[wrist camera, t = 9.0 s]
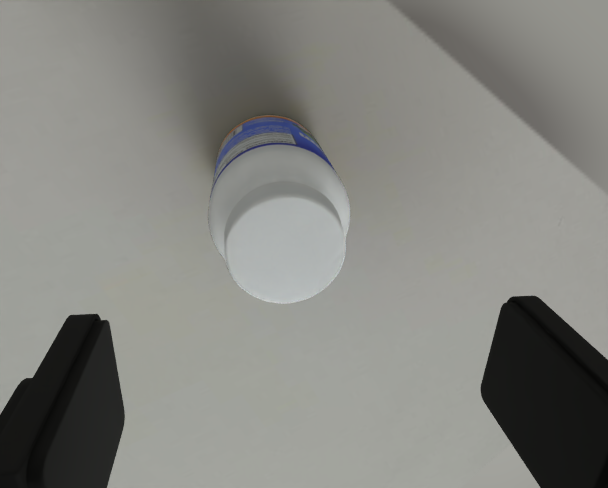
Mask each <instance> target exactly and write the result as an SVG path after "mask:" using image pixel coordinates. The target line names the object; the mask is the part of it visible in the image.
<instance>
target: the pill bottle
mask: <svg viewBox="0 0 608 488" xmlns="http://www.w3.org/2000/svg"><path fill="white" fill-rule="evenodd" d="M208 222H209V228H210V233H211V236H212V239H213V241H214V244H215V246H216V248H217V249H218V251H219V252H220V254H221V255H222V256H223V258H224V259H225V260H226V264H227V267H228V270H229V272H230V274H231V276H232V278H233V279H234V280H235V282H236V283H237V284H238V285H239V286H240V287H241V288H242V289H243V290H244V291H246V292H247V293H249V294H250V295H252V296H254V297H256V298H258V299H261V300H264V301H267V302H272V303H293V302H298V301H302V300H305V299H308V298H310V297H312V296H314V295H316V294H318V293H319V292H321V291H322V290H323V289H325V288H326V287H327V286H328V285H329V284H330V283H331V282H332V281H333V280H334V279H335V277H336V276H337V274H338V273H339V271H340V269H341V267H342V265H343V262H344V258H345V254H346V235H347V232H348V228H349V223H350V204H349V199H348V195H347V192H346V190H345V187H344V185H343V183H342V181H341V179H340V178H339V176H338V174H337V173H336V171H335V170H334V168H333V167H332V165H331V163H330V162H329V160H328V159H327V157H326V155H325V154H324V152H323V150H322V149H321V147H320V146H319V144H318V143H317V141H316V139H315V138H314V137H313V136H312V134H311V133H310V132H309V131H308V130H307V129H306V128H304V127H303V126H302V125H301V124H299V123H297V122H296V121H294V120H292V119H289V118H286V117H283V116H277V115H263V116H256V117H253V118H250V119H247V120H245V121H243V122H242V123H240V124H238V125H237V126H236V127H235V128H233V129H232V130H231V131H230V132H229V133H228V135H227V136H226V137H225V139H224V141H223V142H222V144H221V146H220V149H219V152H218V156H217V161H216V168H215V174H214V180H213V185H212V191H211V196H210V203H209V210H208Z"/></svg>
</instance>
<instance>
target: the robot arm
mask: <svg viewBox="0 0 608 488" xmlns="http://www.w3.org/2000/svg"><path fill="white" fill-rule="evenodd" d="M481 395H482V398H483V401H484V402H485V404H486V405H487V407H488V408H489V410H490V412H491V413H492V415H493V416H494V418H495V419H496V421H497V422H498V424H499V425H500V427H501V428H502V430H503V431H504V433H505V434H506V436H507V437H508V439H509V440H510V442H511V443H512V445H513V446H514V448H515V449H516V451H517V452H518V454H519V456H520V457H521V459H522V460H523V461H524V463H525V464H526V466H527V468H528V469H529V471H530V472H531V474H532V475H533V477H534V478H535V480H536V481H537V483H538V484H539V486H540V487H541V488H608V360H607V359H606V358H605V357H604V356H603V355H602V354H601V353H599V352H598V351H597V350H596V349H595V348H594V347H593V346H592V345H591V344H589V343H588V342H587V341H586V340H585V339H584V338H583V337H582V336H581V335H579V334H578V333H577V332H576V331H575V330H574V329H573V328H572V327H571V326H569V325H568V324H567V323H566V322H565V321H564V320H563V319H562V318H561V317H559V316H558V315H557V314H556V313H555V312H554V311H553V310H552V309H551V308H549V307H548V306H547V305H546V304H545V303H544V302H543V301H542V300H541V299H540V298H538V297H536V296H517V297H511V298H510V299H509V300H508V301H507V303H504V304H503V305H502V307H501V310H500V314H499V318H498V322H497V326H496V330H495V334H494V337H493V341H492V345H491V349H490V353H489V357H488V361H487V364H486V368H485V372H484V376H483V380H482V384H481ZM124 418H125V414H124V406H123V400H122V394H121V389H120V383H119V377H118V371H117V365H116V359H115V353H114V348H113V342H112V336H111V330H110V325H109V322H108V321H107V320H101V319H100V317H99V315H98V314H85V315H70V316H69V317H68V318H67V319H66V321H65V323H64V324H63V326H62V328H61V330H60V331H59V333H58V335H57V337H56V338H55V340H54V342H53V344H52V345H51V347H50V349H49V351H48V352H47V354H46V356H45V358H44V359H43V361H42V363H41V365H40V366H39V368H38V370H37V372H36V373H35V375H34V377H33V378H26V379H24V380H23V381H21V383H20V384H19V385H18V386H17V388H16V390H15V391H14V393H13V395H12V396H11V398H10V400H9V401H8V403H7V405H6V406H5V408H4V410H3V411H2V413H1V415H0V488H107V485H108V481H109V478H110V474H111V470H112V467H113V463H114V460H115V456H116V452H117V449H118V445H119V442H120V438H121V434H122V431H123V427H124Z"/></svg>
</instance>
